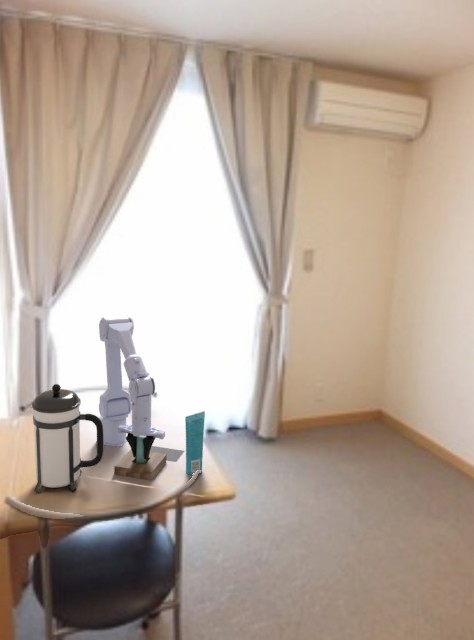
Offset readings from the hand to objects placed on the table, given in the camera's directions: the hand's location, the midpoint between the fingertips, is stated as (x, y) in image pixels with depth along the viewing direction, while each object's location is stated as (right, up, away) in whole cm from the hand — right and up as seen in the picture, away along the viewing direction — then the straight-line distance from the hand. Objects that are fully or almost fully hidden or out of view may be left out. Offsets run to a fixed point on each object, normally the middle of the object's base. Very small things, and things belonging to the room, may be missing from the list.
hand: (141, 456), depth 156 cm
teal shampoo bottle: (+16, -5, 0) cm, 17 cm away
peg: (0, -3, +1) cm, 3 cm away
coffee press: (-21, -5, -9) cm, 23 cm away
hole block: (0, -4, +1) cm, 4 cm away
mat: (+5, -2, +11) cm, 12 cm away
